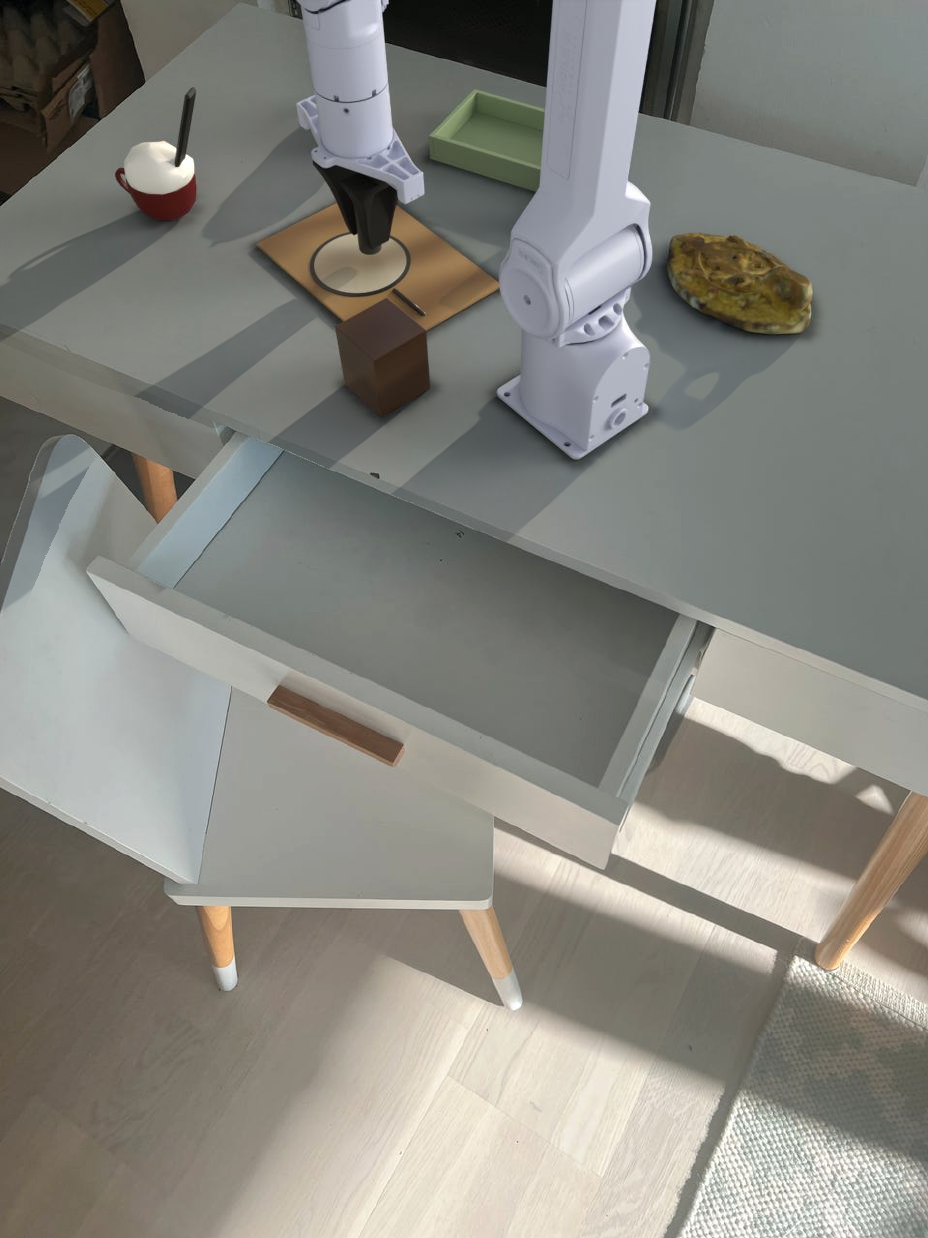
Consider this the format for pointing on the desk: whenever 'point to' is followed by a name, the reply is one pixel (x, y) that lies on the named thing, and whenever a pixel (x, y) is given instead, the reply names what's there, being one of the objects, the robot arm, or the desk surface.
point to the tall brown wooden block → (384, 356)
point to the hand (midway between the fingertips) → (369, 235)
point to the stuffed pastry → (739, 283)
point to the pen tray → (492, 139)
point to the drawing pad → (378, 268)
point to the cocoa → (162, 173)
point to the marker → (361, 242)
